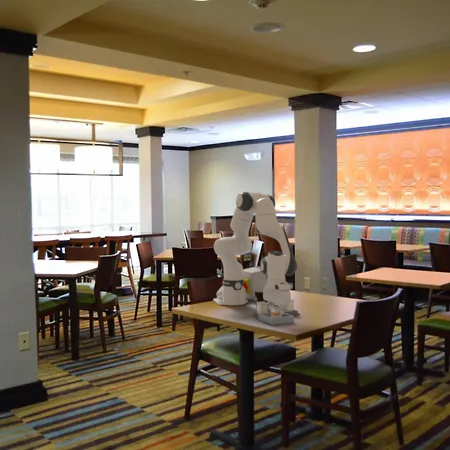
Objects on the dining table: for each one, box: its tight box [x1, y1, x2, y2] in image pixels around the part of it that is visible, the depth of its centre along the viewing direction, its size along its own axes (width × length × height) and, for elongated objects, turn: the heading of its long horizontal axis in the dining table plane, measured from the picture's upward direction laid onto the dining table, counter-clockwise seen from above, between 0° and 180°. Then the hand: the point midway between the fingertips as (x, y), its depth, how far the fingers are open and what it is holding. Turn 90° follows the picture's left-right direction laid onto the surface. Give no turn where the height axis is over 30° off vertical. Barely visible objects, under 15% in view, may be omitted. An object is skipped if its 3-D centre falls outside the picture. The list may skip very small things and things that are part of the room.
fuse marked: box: [270, 304, 282, 318], centre depth 262 cm, size 4×4×7 cm
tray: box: [258, 312, 295, 327], centre depth 262 cm, size 13×13×4 cm
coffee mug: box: [255, 290, 268, 309], centre depth 295 cm, size 12×9×10 cm
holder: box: [250, 309, 301, 321], centre depth 275 cm, size 8×25×2 cm, turn 116°
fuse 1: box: [256, 301, 269, 314], centre depth 272 cm, size 4×4×7 cm
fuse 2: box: [284, 298, 295, 311], centre depth 279 cm, size 4×4×7 cm
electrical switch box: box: [243, 265, 267, 302], centre depth 321 cm, size 15×15×20 cm
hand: (276, 312), depth 261 cm, fingers open, 8 cm apart
